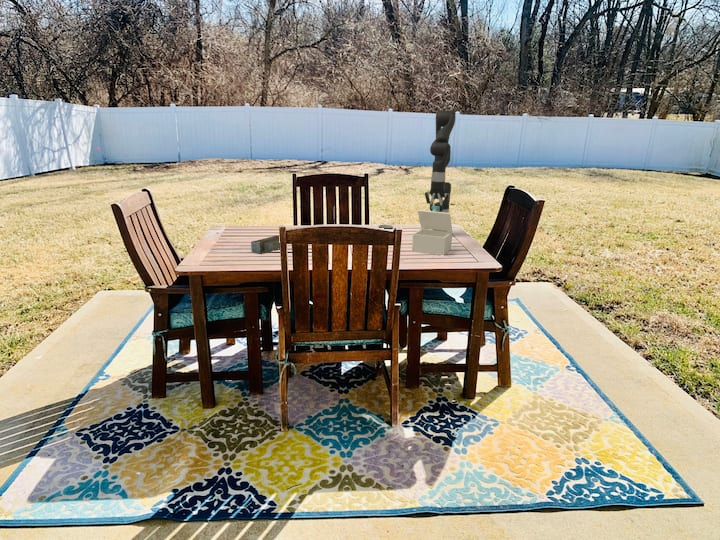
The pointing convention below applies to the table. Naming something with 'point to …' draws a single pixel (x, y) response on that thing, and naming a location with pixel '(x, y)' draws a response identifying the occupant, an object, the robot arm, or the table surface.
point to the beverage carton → (265, 244)
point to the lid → (435, 219)
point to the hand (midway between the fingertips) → (436, 211)
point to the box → (432, 241)
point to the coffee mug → (386, 226)
